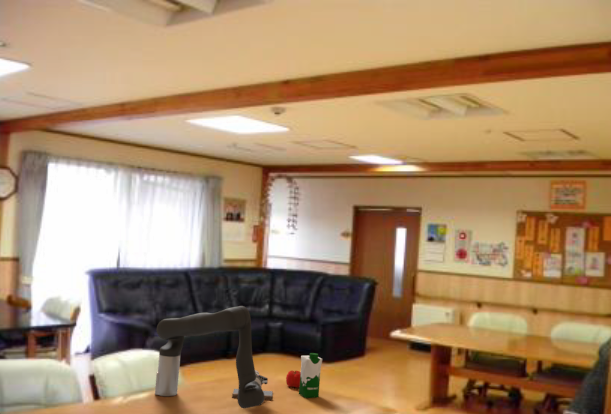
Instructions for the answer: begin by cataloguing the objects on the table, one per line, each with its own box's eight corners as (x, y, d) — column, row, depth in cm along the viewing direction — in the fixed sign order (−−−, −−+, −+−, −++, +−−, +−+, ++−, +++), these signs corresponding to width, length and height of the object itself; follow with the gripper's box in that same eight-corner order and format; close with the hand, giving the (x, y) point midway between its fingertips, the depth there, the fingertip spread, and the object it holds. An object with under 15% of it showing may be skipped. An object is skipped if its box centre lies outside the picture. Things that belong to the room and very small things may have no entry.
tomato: (284, 384, 300) (285, 369, 300) (301, 384, 302) (302, 369, 302) (287, 389, 291) (289, 373, 291) (305, 389, 293) (307, 374, 293)
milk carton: (304, 398, 277) (307, 355, 278) (296, 393, 285) (299, 350, 286) (321, 397, 281) (324, 354, 281) (312, 392, 289) (315, 350, 289)
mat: (232, 395, 273) (232, 394, 273) (234, 389, 283) (234, 388, 283) (272, 398, 273) (272, 397, 274) (272, 392, 283) (272, 391, 283)
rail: (232, 397, 270) (232, 393, 270) (232, 396, 271) (232, 392, 271) (272, 400, 271) (272, 396, 271) (272, 399, 272) (272, 395, 272)
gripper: (268, 377, 255) (269, 367, 272) (237, 375, 254) (240, 365, 272) (267, 395, 255) (268, 384, 272) (236, 393, 254) (238, 382, 272)
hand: (254, 374), depth 272 cm, fingers closed
